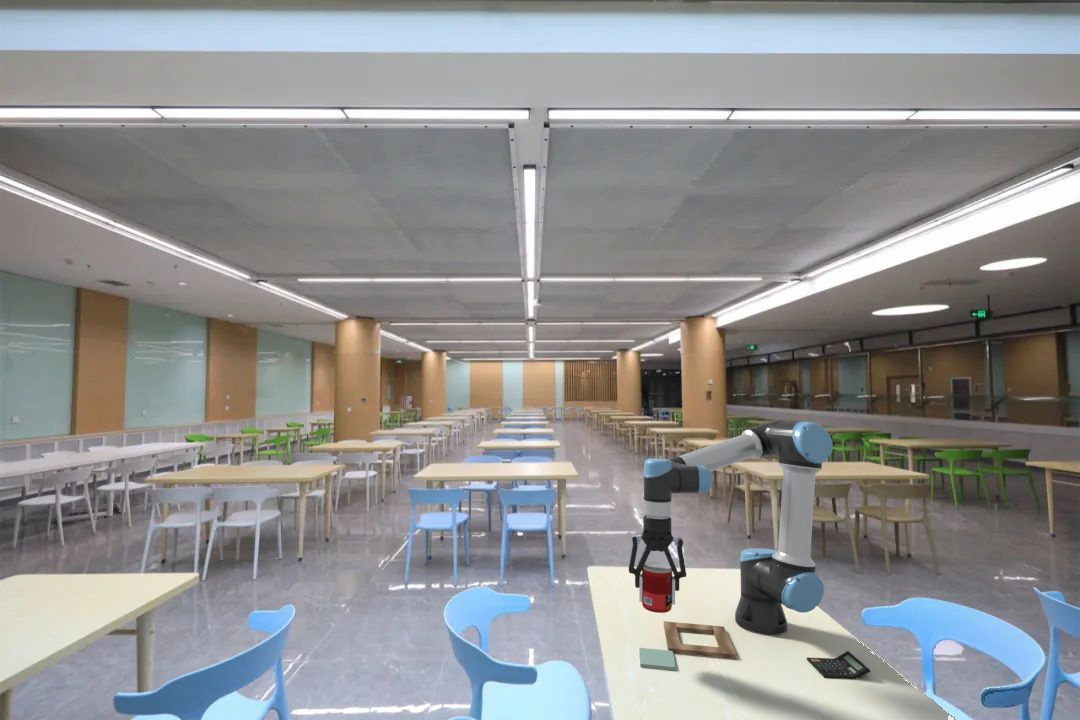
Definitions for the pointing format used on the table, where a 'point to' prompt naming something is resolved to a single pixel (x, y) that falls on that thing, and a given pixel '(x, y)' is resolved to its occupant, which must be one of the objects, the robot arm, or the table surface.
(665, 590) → the canned food
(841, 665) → the calculator
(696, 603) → the table surface
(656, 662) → the plate
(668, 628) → the pocket board
